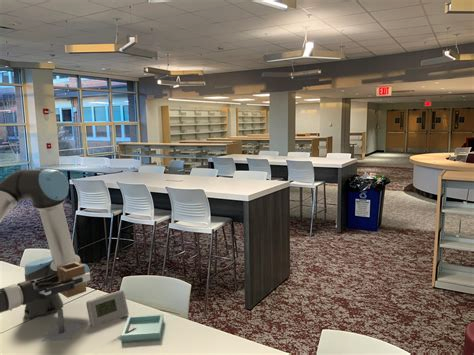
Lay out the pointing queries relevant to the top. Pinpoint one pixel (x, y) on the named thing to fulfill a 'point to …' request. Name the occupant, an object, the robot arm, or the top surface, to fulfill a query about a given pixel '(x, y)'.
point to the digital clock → (107, 307)
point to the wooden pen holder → (68, 273)
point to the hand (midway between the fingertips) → (84, 273)
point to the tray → (143, 328)
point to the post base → (61, 336)
